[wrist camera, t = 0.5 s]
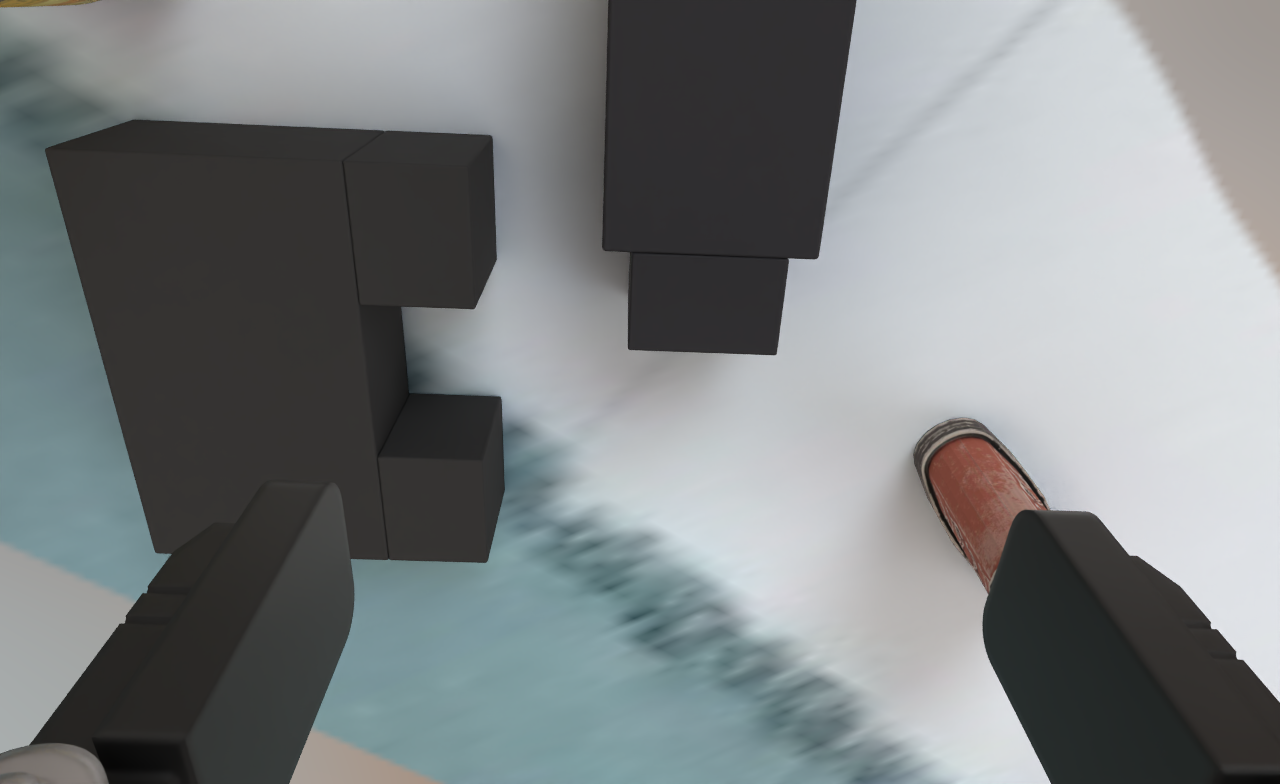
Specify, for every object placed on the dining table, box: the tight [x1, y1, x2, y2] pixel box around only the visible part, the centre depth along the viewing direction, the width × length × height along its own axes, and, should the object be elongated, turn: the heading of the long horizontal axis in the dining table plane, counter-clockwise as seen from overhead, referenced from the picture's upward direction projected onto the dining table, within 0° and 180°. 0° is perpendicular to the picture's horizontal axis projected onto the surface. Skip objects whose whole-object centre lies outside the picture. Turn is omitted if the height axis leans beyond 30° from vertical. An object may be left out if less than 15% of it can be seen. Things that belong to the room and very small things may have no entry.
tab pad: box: [602, 0, 856, 355], centre depth 21 cm, size 6×13×4 cm, turn 177°
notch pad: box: [45, 120, 505, 563], centre depth 25 cm, size 12×10×4 cm
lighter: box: [914, 418, 1050, 594], centre depth 25 cm, size 8×3×10 cm, turn 36°
